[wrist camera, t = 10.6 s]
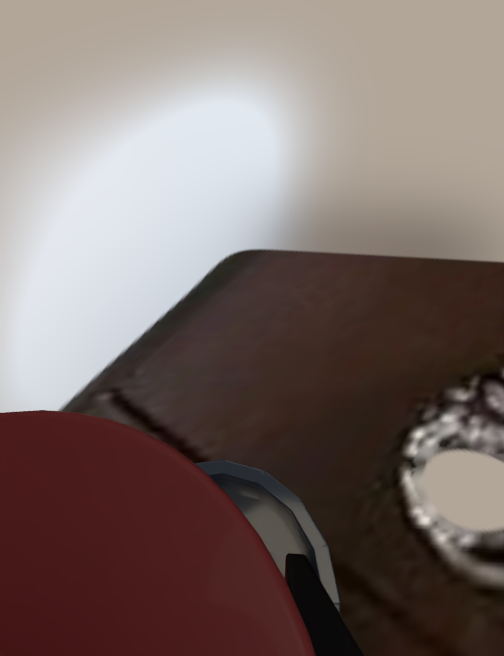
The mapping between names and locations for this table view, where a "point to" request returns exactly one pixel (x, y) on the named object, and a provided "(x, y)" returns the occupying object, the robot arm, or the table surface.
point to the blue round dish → (276, 517)
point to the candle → (128, 550)
